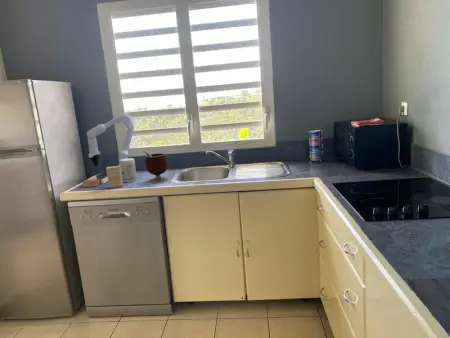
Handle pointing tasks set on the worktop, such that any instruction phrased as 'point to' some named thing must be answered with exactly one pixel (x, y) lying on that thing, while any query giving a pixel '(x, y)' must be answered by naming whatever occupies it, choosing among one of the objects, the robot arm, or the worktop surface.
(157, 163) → the mate gourd
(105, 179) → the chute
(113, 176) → the supplement box
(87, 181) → the block
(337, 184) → the worktop surface
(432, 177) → the worktop surface
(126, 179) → the supplement tub
